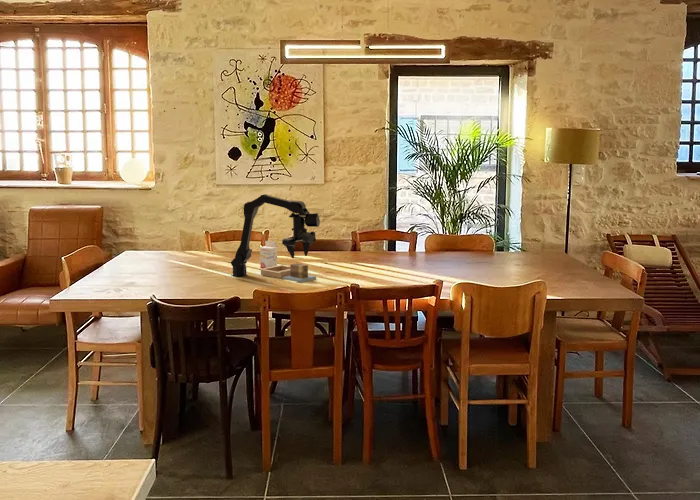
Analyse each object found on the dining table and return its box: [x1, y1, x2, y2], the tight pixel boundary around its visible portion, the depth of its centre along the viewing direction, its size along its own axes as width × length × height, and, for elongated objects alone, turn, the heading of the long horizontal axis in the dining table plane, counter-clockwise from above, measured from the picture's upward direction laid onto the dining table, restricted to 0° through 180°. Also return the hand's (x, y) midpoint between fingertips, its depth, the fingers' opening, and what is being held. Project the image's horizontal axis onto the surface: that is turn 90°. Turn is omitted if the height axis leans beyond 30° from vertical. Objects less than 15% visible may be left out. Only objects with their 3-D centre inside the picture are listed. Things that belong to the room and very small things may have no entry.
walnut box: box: [289, 262, 309, 278], centre depth 380 cm, size 5×8×6 cm, turn 49°
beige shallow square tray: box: [259, 264, 291, 279], centre depth 391 cm, size 16×15×4 cm
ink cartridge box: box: [259, 240, 278, 269], centre depth 411 cm, size 9×5×15 cm, turn 58°
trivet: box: [282, 274, 317, 284], centre depth 381 cm, size 12×12×2 cm
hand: (299, 256), depth 379 cm, fingers open, 9 cm apart
